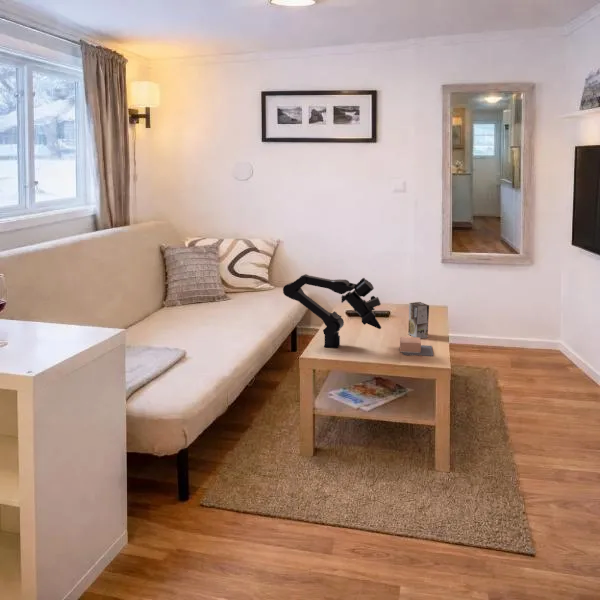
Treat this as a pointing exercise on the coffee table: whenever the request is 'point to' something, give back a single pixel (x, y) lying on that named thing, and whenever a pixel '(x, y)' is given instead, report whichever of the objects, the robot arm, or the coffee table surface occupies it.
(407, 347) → the pinkish brown block
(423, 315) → the coffee box
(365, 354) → the coffee table surface
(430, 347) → the mat
